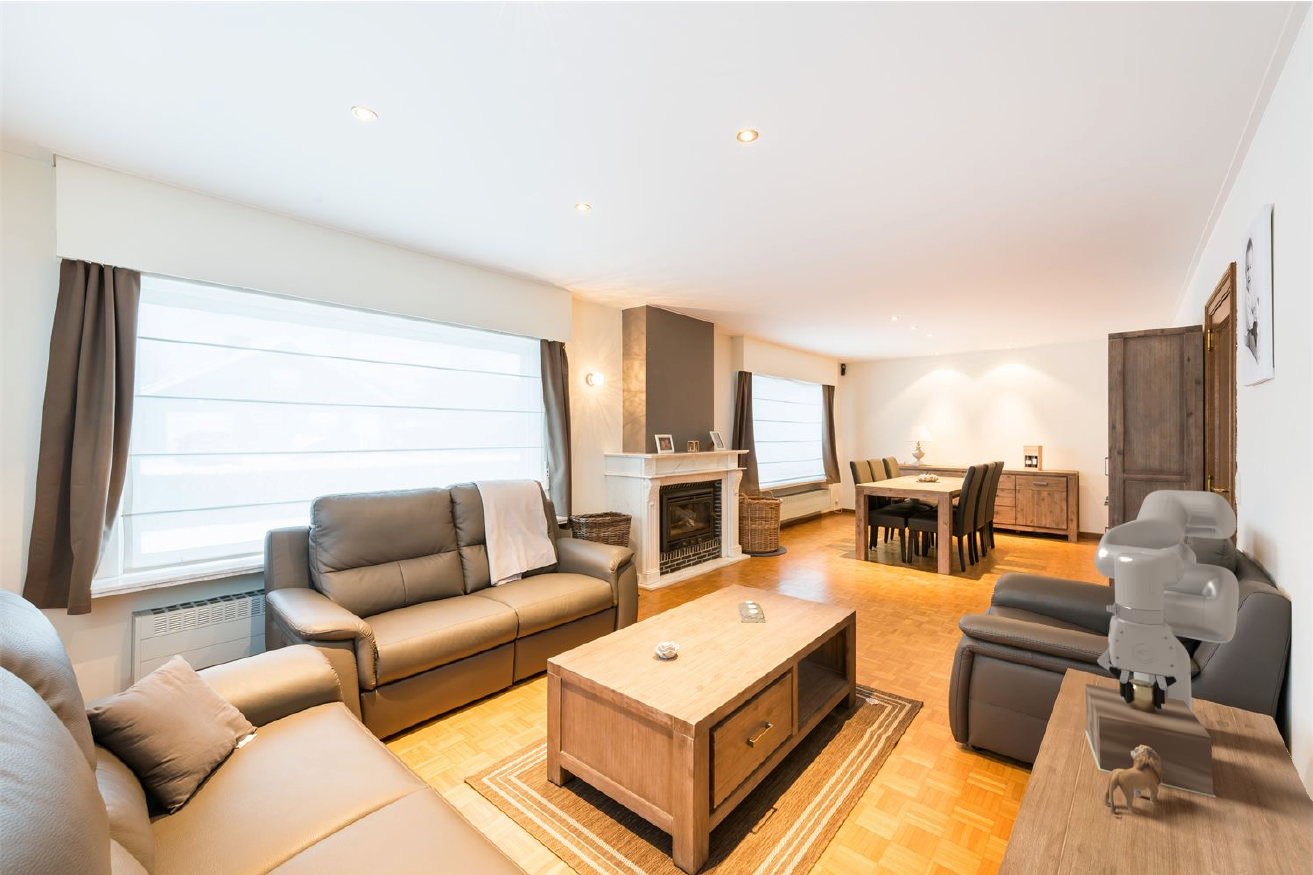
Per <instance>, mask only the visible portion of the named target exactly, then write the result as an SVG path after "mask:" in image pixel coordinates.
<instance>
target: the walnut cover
mask: <svg viewBox="0 0 1313 875" xmlns="http://www.w3.org/2000/svg"><path fill="white" fill-rule="evenodd" d="M1128 680H1129V683H1130V685H1131V703H1130V704H1129V703H1126V701H1125V699H1124V697H1121V696H1120V688H1119V689H1118V688H1112V687H1107V686H1101V685H1096V684H1095V685H1094V684H1090V683H1085V703H1086V704H1085V705H1086V707H1085V708H1086V709H1085V712H1086V731H1087V732H1088V735H1089V738H1090V741H1091V743H1092V746H1093V749H1094V752H1095V755H1096V758H1097V760H1098V763H1099V766H1100V769H1104V770H1108V771H1113V770H1114V769H1125V770H1127V769H1131V768H1133V762H1134V759H1133V757H1132V756H1131V751H1134V749H1135V748H1136V747H1139V746H1140V745H1145V746H1148V747H1150V748H1152V749H1154V751H1155V752H1156V753H1157V754H1158V755H1159V756H1160V760H1161V764H1162V766H1161V767H1162V770H1163V771H1162V772H1163V776H1162V783H1163V784H1168V785H1172V786H1176V787H1180V788H1185V789H1189V790H1193V791H1197V792H1202V793H1206V794H1210V795H1213V794H1214V782H1213V781H1214V779H1213V778H1214V777H1213V776H1214V774H1213V749H1212V746H1213V744H1212V743H1213V742H1212V736H1211V735H1210V734H1209V733H1208V731H1207V730H1206V728H1205V727H1204V726H1203V724H1202V723H1201V722H1200V721H1199V719H1198V718H1197V716H1196V715H1195V713H1194V712H1193V710H1192V711H1191V710H1190V709H1189V707H1188V706H1187V705H1186V703H1185V702H1184V701H1183V700H1177V699H1171V698H1166V697H1165V704H1161V706H1162V709H1158V708H1156V706H1155V686H1154V685H1153V684H1151V683H1149V682H1146V681H1143V680H1137V679H1134V678H1132V679H1130V678H1129V679H1128Z"/></svg>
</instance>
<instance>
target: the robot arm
mask: <svg viewBox="0 0 1313 875" xmlns="http://www.w3.org/2000/svg"><path fill="white" fill-rule="evenodd" d="M1237 524H1238V523H1237V517H1236V512H1234V510H1233V508H1232V506H1231V505H1230V503H1229V501H1228V500H1227V498H1225V497H1223V496H1222V495H1221V494H1219V493H1216V492H1212V491H1205V490H1204V491H1202V490H1200V491H1199V490H1180V489H1179V490H1176V489H1175V490H1174V489H1160V490H1156V491H1152V492H1150V493H1149V494H1147V495H1146V496H1145V498H1144V500H1143V502H1142V504H1141V507H1140V509H1139V512H1138V515H1137V517H1136V519H1134V520H1130V521H1128V522H1124V523H1122V524H1120V525H1116V526H1114V527H1113V528H1110V529H1108V530H1107V531H1106V532H1105V533H1104V534H1103V535H1102V536H1101V539H1100V541H1099V543H1098V546H1097V548H1096V551H1095V555H1094V566H1095V568H1096V570H1097V571H1098V573H1100V574H1101V576H1103V577H1105V578H1109V579H1113V580H1114V603H1113V604H1109V605H1108V604H1107V605H1106V606H1105V607H1106V612H1109V613H1112V614H1114V615H1112V616H1111V619H1110V623H1109V628H1108V640H1107V641H1108V642H1107V649H1105V651H1104V652H1103V653H1102V654H1101V655H1100V656H1099V657H1098V658H1097V660H1096V661H1097V663H1098V665H1099V666H1101V667H1103V669H1106V670H1107V671H1109V673H1111V674H1112V675H1113V676H1114V677H1115V678H1116V679H1117V680H1119V683H1118V684H1119V690H1120V696H1121V697H1124V699H1125V701H1126V703H1129V704H1130V703H1131V685H1130V683H1129V680H1130V679H1129V675H1130V673H1131V672H1133V679H1137V680H1143V681H1146V682H1149V683H1151V684H1153V685H1154V686H1155V706H1156V708H1158V709H1162V706H1161V704H1165V697H1166V698H1171V699H1177V700H1183V701H1184V702H1185V703H1186V705H1187V706H1188V707H1189V709H1190V710H1191V711H1192V712H1193V709H1192V680H1191V679H1192V678H1191V677H1192V675H1191V658H1190V654H1189V653H1188V651H1187V649H1186V647H1185V646H1184V645H1183V643H1181V641H1180V640H1179V639H1178V638H1177V637H1182V638H1188V639H1193V640H1198V641H1203V642H1209V643H1215V644H1227V643H1229V642H1231V641H1232V639H1233V638H1234V636H1235V634H1236V629H1237V622H1238V621H1237V620H1238V610H1239V600H1240V587H1239V582H1238V578H1237V577H1236V575H1235V574H1234V572H1232V571H1231V570H1230V569H1228V568H1226V567H1223V566H1220V565H1214V564H1207V563H1206V564H1205V563H1199V562H1197V556H1196V553H1195V552H1194V551H1193V549H1191V548H1190V547H1189V546H1188V544H1186V543H1185V542H1184V541H1182V540H1183V539H1184V537H1193V538H1202V539H1203V538H1204V539H1205V538H1207V539H1215V540H1225V539H1226V540H1227V539H1229V538H1231V537H1232V536H1233V535H1235V533H1236V529H1237Z"/></svg>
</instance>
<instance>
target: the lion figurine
mask: <svg viewBox="0 0 1313 875" xmlns="http://www.w3.org/2000/svg"><path fill="white" fill-rule="evenodd" d="M1131 756H1132V757H1133V759H1134V762H1133V768H1131V769H1127V770H1125V769H1114V770H1113V771H1112V772H1111V773H1110V772H1109V774H1108V775H1109V776H1108V778H1107V779H1108V781H1107V786H1106V787H1107V788H1106V790H1105V792H1104V793H1103V796H1102V798H1103V800H1102V802H1103V803H1102V804H1103V805H1104V806H1106V807H1110V813H1111V814H1112V815H1115V814H1116V811H1117V810H1116V806H1115V802H1114V792H1115V791H1116V789H1118V787H1119V789H1120V790H1121V792H1122V794H1123V795H1124V797H1125V803H1124V804H1125V806H1126V807H1127V809H1128V810H1129V811H1130V812H1132V813H1136V814H1140V810H1138V809H1137V808H1134V805H1133V801H1134V797H1137V798H1141V797H1142V795H1141V792H1142V791H1146V790H1147V789H1149V793H1150V798H1149V801H1150V803H1152V804H1154V805H1160V802H1159V801H1157V798H1158V795H1159V785H1161V783H1162V776H1163V772H1162V771H1163V770H1162V767H1161V766H1162V764H1161V760H1160V756H1159V755H1158V754H1157V753H1156V752H1155V751H1154V749H1152V748H1150V747H1148V746H1145V745H1140V746H1139V747H1136V748H1135V749H1134V751H1131Z"/></svg>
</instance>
